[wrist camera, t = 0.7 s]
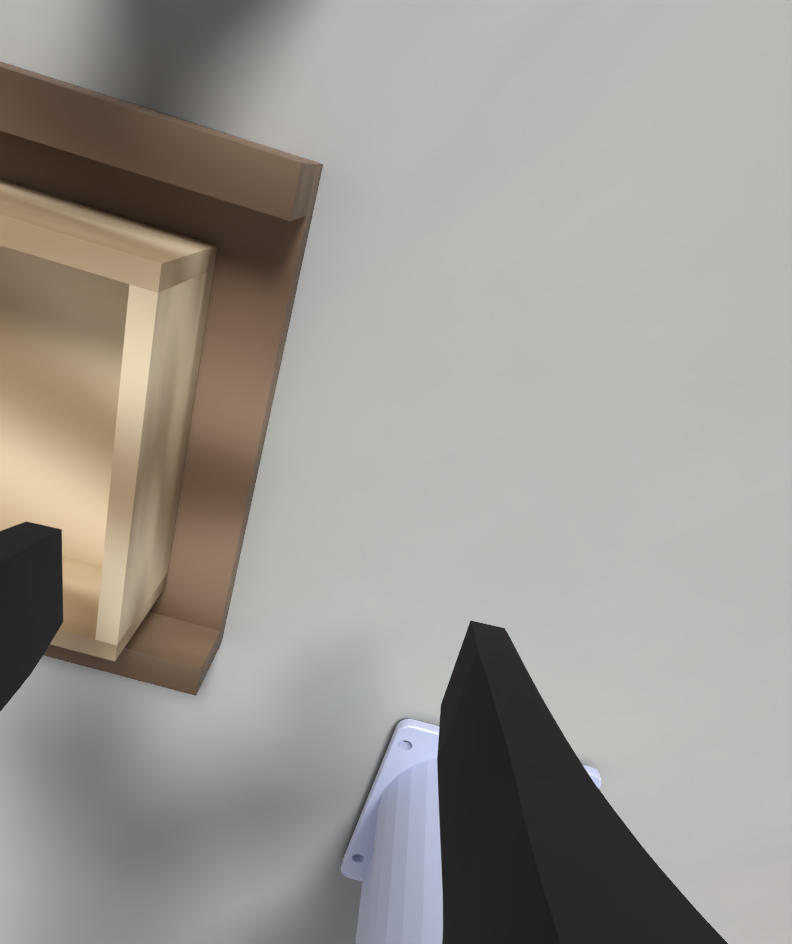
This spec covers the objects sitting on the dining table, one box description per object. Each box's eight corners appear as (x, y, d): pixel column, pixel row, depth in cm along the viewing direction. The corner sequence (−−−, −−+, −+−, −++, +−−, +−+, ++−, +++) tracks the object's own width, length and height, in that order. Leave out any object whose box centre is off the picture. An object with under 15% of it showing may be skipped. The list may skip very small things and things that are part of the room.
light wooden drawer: (165, 586, 21) (115, 661, 17) (-81, 519, 20) (-178, 584, 17) (217, 245, 16) (161, 263, 13) (-102, 147, 15) (-241, 141, 12)
